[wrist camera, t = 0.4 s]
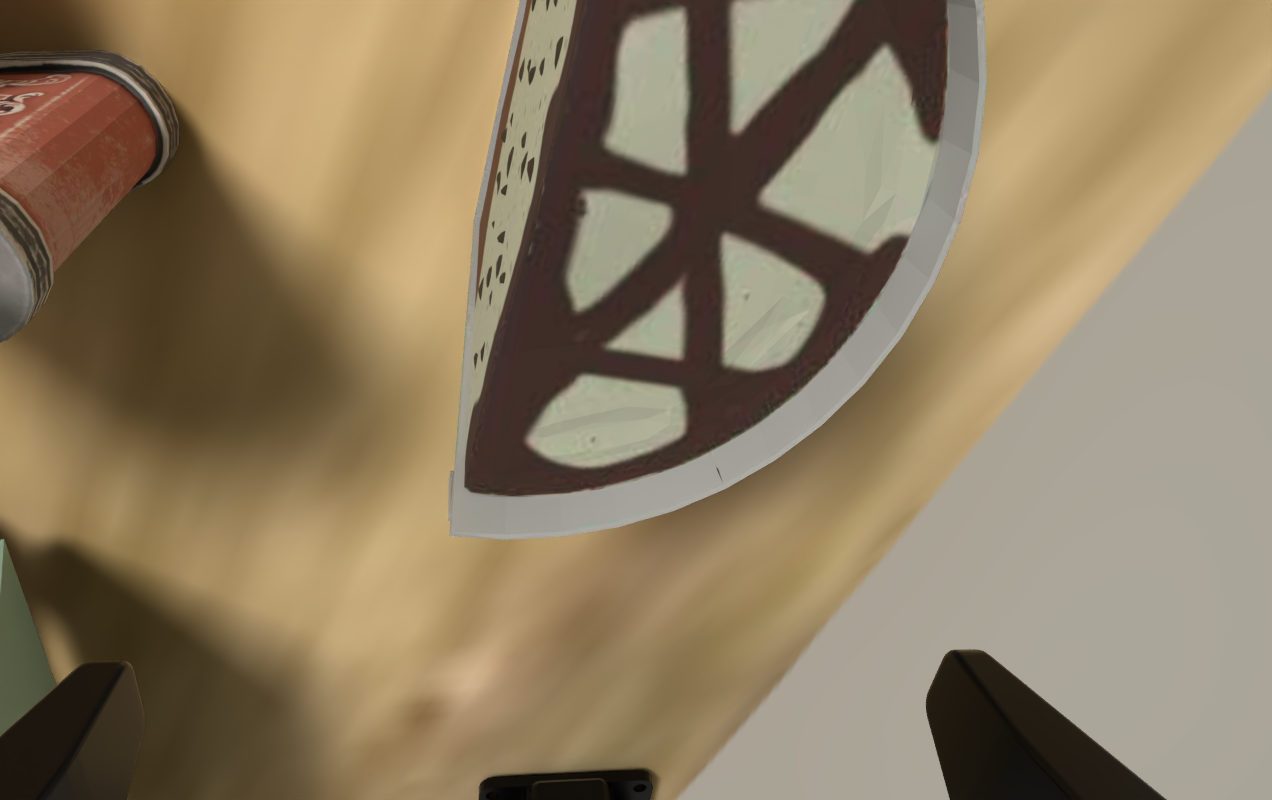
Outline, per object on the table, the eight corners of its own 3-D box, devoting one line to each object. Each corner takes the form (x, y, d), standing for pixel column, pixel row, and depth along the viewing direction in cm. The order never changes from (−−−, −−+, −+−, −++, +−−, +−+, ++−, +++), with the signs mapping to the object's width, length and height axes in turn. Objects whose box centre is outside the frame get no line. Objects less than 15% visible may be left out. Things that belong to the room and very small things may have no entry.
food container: (695, 323, 24) (802, 604, 15) (461, 276, 22) (442, 562, 14) (896, -221, 17) (1254, -235, 9) (590, -342, 16) (696, -493, 8)
